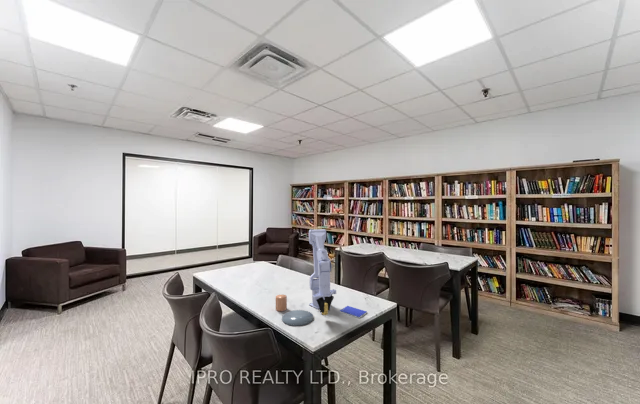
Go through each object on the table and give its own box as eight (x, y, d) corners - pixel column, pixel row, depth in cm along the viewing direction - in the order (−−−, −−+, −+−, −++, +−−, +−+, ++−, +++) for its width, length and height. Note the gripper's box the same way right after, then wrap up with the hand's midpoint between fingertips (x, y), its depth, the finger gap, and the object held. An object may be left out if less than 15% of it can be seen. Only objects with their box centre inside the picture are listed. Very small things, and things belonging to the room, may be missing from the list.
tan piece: (283, 305, 149) (282, 293, 149) (288, 309, 144) (288, 296, 144) (273, 308, 145) (273, 296, 145) (279, 312, 140) (279, 299, 141)
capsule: (325, 311, 133) (325, 302, 133) (329, 313, 130) (329, 304, 130) (320, 313, 131) (320, 303, 131) (324, 315, 128) (324, 305, 128)
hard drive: (339, 310, 140) (359, 316, 132) (347, 305, 146) (367, 311, 138) (339, 313, 140) (359, 319, 132) (347, 308, 146) (367, 314, 138)
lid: (301, 309, 144) (301, 307, 144) (319, 319, 132) (319, 317, 132) (276, 317, 133) (276, 315, 133) (293, 329, 121) (293, 327, 121)
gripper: (318, 289, 123) (318, 317, 123) (340, 283, 132) (340, 309, 132) (309, 285, 128) (309, 313, 128) (331, 280, 138) (331, 305, 138)
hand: (324, 311), depth 131 cm, fingers closed on capsule, 3 cm apart
